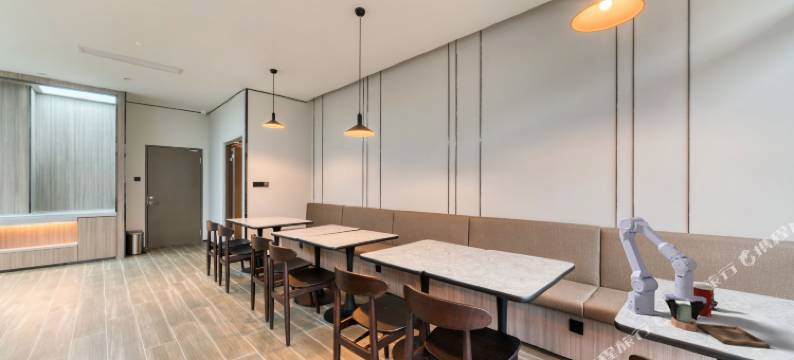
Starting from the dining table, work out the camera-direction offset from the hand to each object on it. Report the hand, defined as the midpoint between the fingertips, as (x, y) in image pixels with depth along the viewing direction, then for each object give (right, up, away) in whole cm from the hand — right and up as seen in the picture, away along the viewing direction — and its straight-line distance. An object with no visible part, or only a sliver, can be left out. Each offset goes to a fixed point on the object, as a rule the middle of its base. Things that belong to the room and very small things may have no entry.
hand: (684, 318), depth 129 cm
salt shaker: (+28, -4, +17) cm, 33 cm away
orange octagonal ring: (0, -3, 0) cm, 3 cm away
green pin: (0, -3, 0) cm, 3 cm away
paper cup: (+19, -4, +11) cm, 22 cm away
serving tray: (+10, -3, -8) cm, 14 cm away
